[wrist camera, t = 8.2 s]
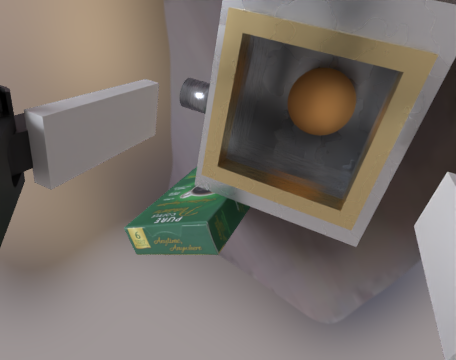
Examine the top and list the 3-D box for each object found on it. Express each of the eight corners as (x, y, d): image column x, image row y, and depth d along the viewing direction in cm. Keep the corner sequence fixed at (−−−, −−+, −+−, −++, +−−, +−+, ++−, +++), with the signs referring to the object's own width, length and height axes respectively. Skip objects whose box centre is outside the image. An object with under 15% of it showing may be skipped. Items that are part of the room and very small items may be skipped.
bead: (296, 56, 25) (300, 67, 21) (358, 69, 25) (375, 83, 21) (279, 116, 27) (280, 136, 23) (336, 128, 27) (347, 152, 23)
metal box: (228, -27, 26) (147, -57, 16) (437, 14, 22) (491, 7, 12) (204, 130, 33) (137, 175, 23) (359, 182, 29) (355, 261, 19)
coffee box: (204, 186, 36) (133, 258, 25) (196, 163, 35) (119, 227, 24) (271, 178, 32) (222, 258, 21) (264, 152, 31) (210, 221, 20)
